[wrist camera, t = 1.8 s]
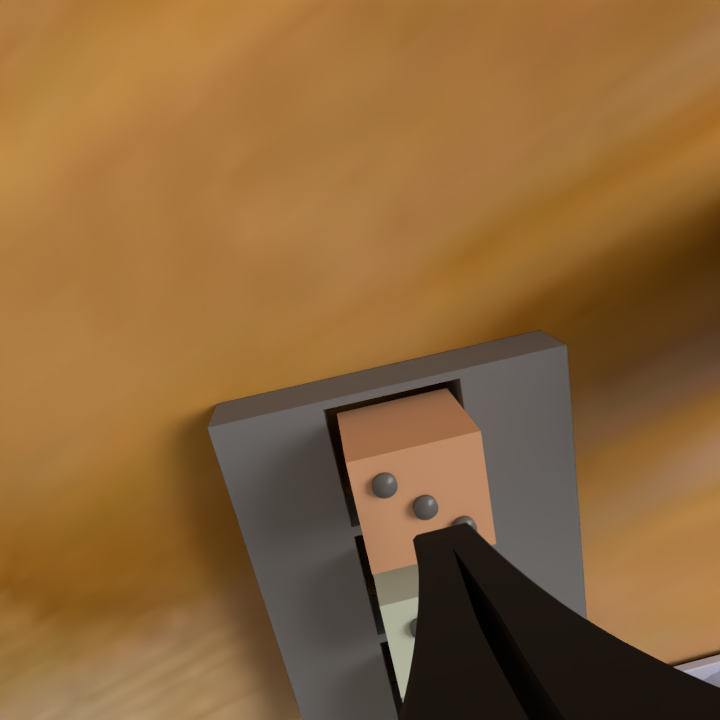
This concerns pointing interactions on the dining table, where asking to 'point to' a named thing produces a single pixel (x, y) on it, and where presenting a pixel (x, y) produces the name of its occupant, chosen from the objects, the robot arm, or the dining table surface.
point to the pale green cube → (399, 616)
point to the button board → (340, 518)
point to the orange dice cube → (414, 473)
